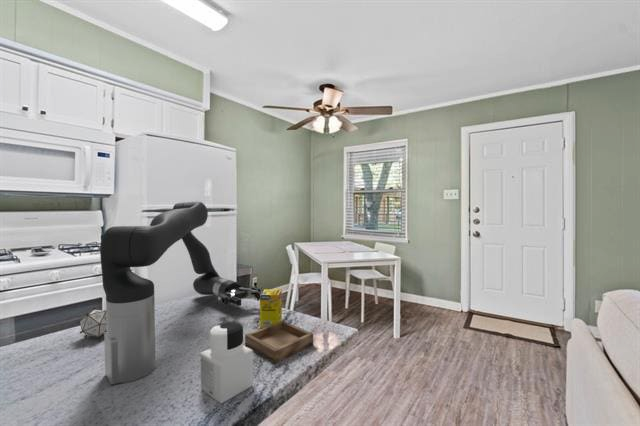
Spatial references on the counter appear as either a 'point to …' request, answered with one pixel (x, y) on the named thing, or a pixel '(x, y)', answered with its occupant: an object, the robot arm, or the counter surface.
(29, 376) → the counter surface
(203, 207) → the robot arm
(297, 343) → the tray
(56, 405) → the counter surface
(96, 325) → the game die
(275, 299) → the supplement box
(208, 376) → the container
